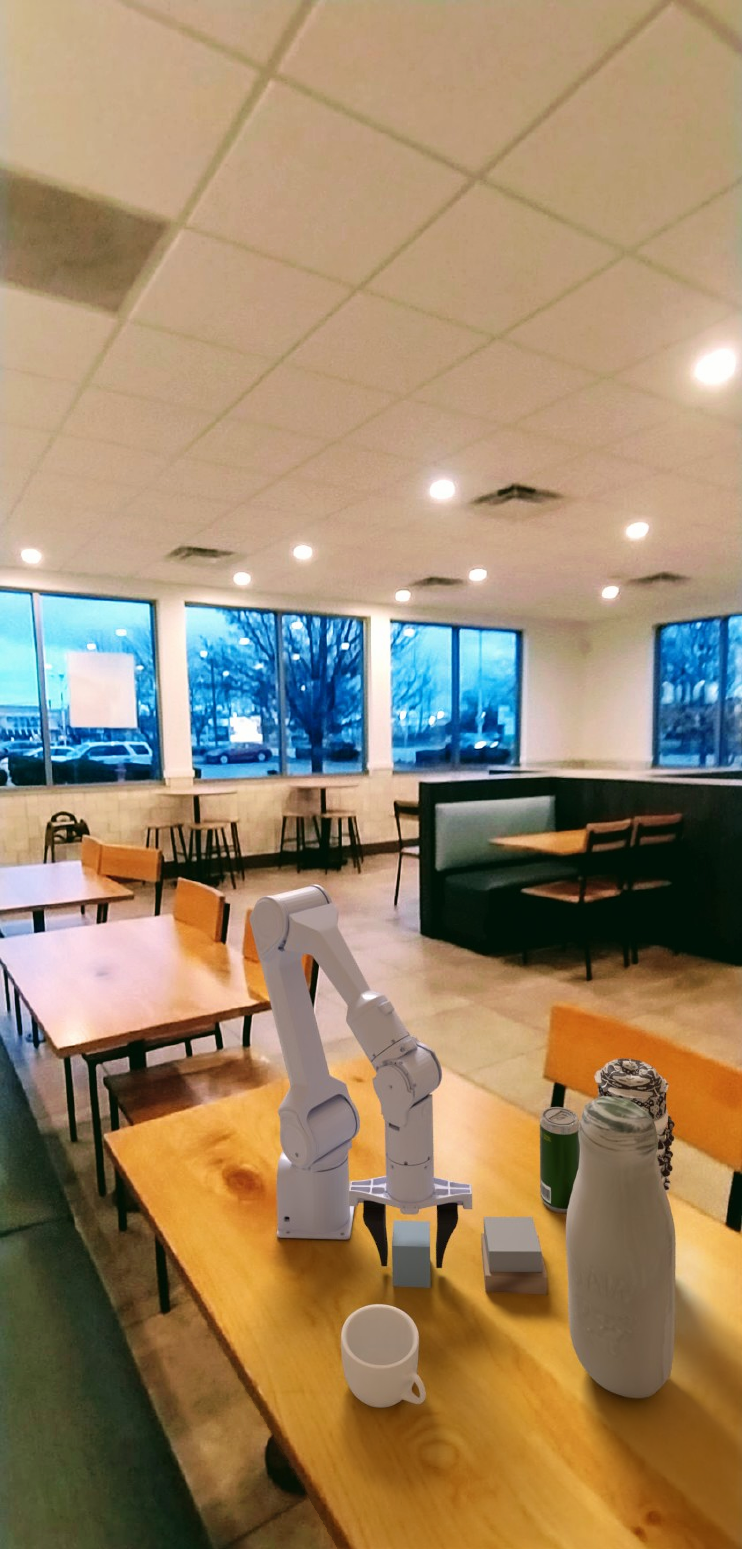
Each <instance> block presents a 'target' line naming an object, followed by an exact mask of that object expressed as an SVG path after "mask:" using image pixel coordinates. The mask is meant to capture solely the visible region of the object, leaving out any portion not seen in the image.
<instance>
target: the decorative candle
mask: <svg viewBox="0 0 742 1549" xmlns="http://www.w3.org/2000/svg"><path fill="white" fill-rule="evenodd" d="M594 1079H595V1083H597V1094H598V1097H597V1098H599V1097H604V1096H608V1097H617V1098H622V1099H626V1100H629V1101H631V1102H634V1103H635V1104H637V1105H639V1106H640V1107H641V1108H643V1109H644V1110H645V1111H646V1112H648V1114H649V1115H650V1116H651V1117H652V1118H653V1121H654V1123H655V1126H656V1131H657V1138H658V1149H657V1152H656V1154H657V1159H658V1164H659V1168H660V1172H661V1177H662V1182H663V1185H664V1188H665V1191H666V1194H668V1193H669V1191H670V1187H671V1181H670V1178H669V1176H671V1172H672V1171H673V1170H674V1169H673V1165H672V1164H671V1161H672V1158H673V1157H674V1153H673V1151H672V1150H671V1148H670V1147H671V1146H672V1144H673V1142H674V1141H675V1136H674V1135H673V1133H672V1132H673V1130H674V1127H675V1125H676V1124H675V1122H674V1121H673V1120H672V1117H671V1115H669V1111H668V1109H667V1091H668V1088H669V1086H670V1085H669V1083H668V1082H667V1080H666V1078H664V1077H663V1076H661V1075H660V1074H659V1073H658V1071H657V1070H656V1068H654V1067H653V1065H652V1066H651V1065H650V1064H649V1063H647V1062H644V1061H642V1060H639V1059H638V1060H637V1059H633V1058H615V1059H613V1060H610V1061H609V1062H606V1063H605V1064H604V1066H603V1067H602V1068H600V1069H598V1070H597V1071H596V1072H595V1074H594Z"/></svg>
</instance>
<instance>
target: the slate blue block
mask: <svg viewBox="0 0 742 1549" xmlns="http://www.w3.org/2000/svg"><path fill="white" fill-rule="evenodd" d="M392 1225H393V1226H392V1236H391V1237H392V1240H391V1241H392V1242H391V1262H392V1263H391V1267H392V1269H391V1270H392V1287H403V1288H404V1287H406V1288H431V1234H430V1233H431V1229H430V1226H431V1225H430V1221H429V1220H427V1221H423V1220H396V1219H394V1220H393V1224H392Z"/></svg>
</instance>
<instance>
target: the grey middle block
mask: <svg viewBox="0 0 742 1549" xmlns="http://www.w3.org/2000/svg"><path fill="white" fill-rule="evenodd" d="M535 1225H536V1224H535V1222H534V1218H533V1216H483V1234H484V1240H485V1246H486V1252H487V1259H488V1265H489V1272H542V1256H543V1251H542V1247H540V1246H541V1243H540V1244H539V1241H540V1239H539V1240H538V1236H539V1235H538V1232H537V1229H536V1226H535Z"/></svg>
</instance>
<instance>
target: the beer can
mask: <svg viewBox="0 0 742 1549" xmlns="http://www.w3.org/2000/svg"><path fill="white" fill-rule="evenodd" d="M540 1115H541V1117H540V1119H539V1174H540V1175H539V1178H540V1179H539V1181H540V1182H539V1183H540V1186H539V1187H540V1192H539V1194H540V1198H541V1200H542V1202H543V1204H544V1206H546V1207H547V1208H548V1209H549V1210H551V1211H552V1212H556V1213H559V1214H560V1213H561V1214H562V1213H563V1214H567V1210H568V1206H569V1202H570V1197H571V1194H572V1190H573V1185H574V1182H575V1179H576V1175H577V1171H578V1168H579V1158H580V1143H579V1134H578V1133H579V1125H580V1121H579V1116H578V1114H577V1113H576V1112H575V1111H573V1110H572V1109H568V1108H565V1107H560V1106H555V1107H554V1106H553V1107H552V1106H551V1107H548V1108H545V1109H544V1110H542V1112H541V1114H540Z"/></svg>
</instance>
